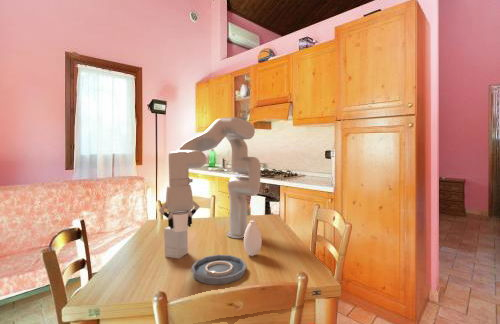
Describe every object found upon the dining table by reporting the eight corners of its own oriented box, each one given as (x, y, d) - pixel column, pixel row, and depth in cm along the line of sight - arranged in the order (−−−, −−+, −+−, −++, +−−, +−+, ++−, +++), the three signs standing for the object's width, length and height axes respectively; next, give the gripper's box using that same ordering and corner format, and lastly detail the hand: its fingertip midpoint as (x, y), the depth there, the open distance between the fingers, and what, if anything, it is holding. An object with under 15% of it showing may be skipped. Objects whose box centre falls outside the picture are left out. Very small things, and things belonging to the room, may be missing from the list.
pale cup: (173, 227, 111) (172, 210, 110) (190, 226, 111) (189, 209, 111) (169, 232, 104) (169, 214, 103) (187, 232, 104) (187, 214, 104)
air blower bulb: (248, 260, 113) (248, 218, 112) (240, 253, 120) (240, 213, 119) (264, 256, 117) (264, 215, 115) (256, 250, 123) (256, 212, 122)
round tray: (234, 257, 116) (234, 252, 116) (253, 278, 98) (253, 271, 97) (187, 265, 108) (187, 259, 108) (198, 289, 90) (198, 282, 90)
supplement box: (188, 252, 121) (188, 225, 120) (178, 259, 114) (178, 230, 113) (174, 250, 123) (173, 223, 123) (164, 256, 116) (163, 228, 116)
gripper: (198, 180, 113) (199, 221, 114) (155, 182, 106) (156, 227, 107) (203, 182, 106) (203, 226, 107) (156, 185, 99) (158, 233, 100)
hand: (180, 226), depth 107 cm, fingers closed on pale cup, 6 cm apart
